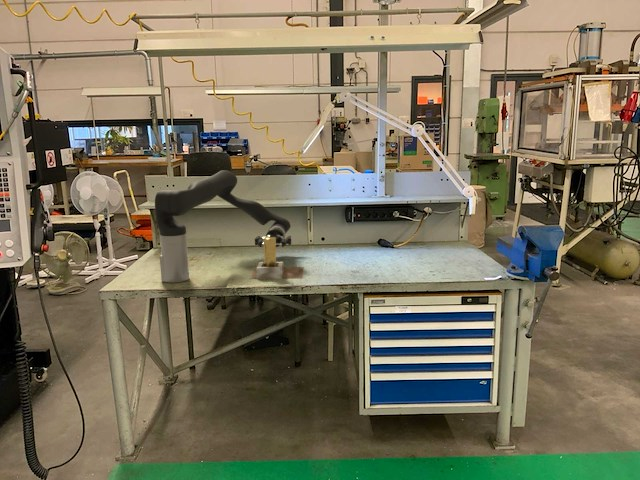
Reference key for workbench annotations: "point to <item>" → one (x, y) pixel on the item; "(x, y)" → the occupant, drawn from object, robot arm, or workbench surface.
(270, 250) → the golden metal peg
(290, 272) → the socket block
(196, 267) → the workbench surface
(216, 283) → the workbench surface
